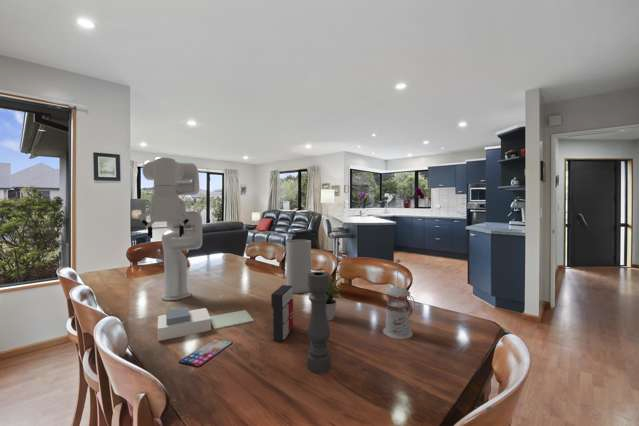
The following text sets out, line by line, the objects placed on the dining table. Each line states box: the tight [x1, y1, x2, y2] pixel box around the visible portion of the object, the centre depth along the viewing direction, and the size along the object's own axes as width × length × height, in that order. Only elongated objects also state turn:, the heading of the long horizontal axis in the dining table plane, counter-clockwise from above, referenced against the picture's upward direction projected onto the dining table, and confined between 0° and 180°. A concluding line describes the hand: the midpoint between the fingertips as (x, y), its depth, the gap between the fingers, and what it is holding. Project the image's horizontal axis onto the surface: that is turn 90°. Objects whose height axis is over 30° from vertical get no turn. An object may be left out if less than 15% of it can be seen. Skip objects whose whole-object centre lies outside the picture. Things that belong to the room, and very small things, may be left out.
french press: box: [382, 258, 416, 340], centre depth 96 cm, size 10×12×25 cm
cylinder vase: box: [285, 239, 312, 294], centre depth 144 cm, size 12×12×25 cm
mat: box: [209, 309, 255, 330], centre depth 108 cm, size 12×14×1 cm
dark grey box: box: [270, 284, 294, 342], centre depth 95 cm, size 11×4×15 cm, turn 168°
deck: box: [157, 307, 212, 342], centre depth 100 cm, size 12×16×4 cm
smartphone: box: [178, 338, 233, 369], centre depth 84 cm, size 8×1×15 cm
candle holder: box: [306, 271, 332, 375], centre depth 75 cm, size 6×6×25 cm
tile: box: [165, 306, 190, 325], centre depth 99 cm, size 9×7×2 cm
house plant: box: [326, 275, 347, 321], centre depth 109 cm, size 14×14×16 cm
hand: (166, 237), depth 106 cm, fingers open, 9 cm apart
